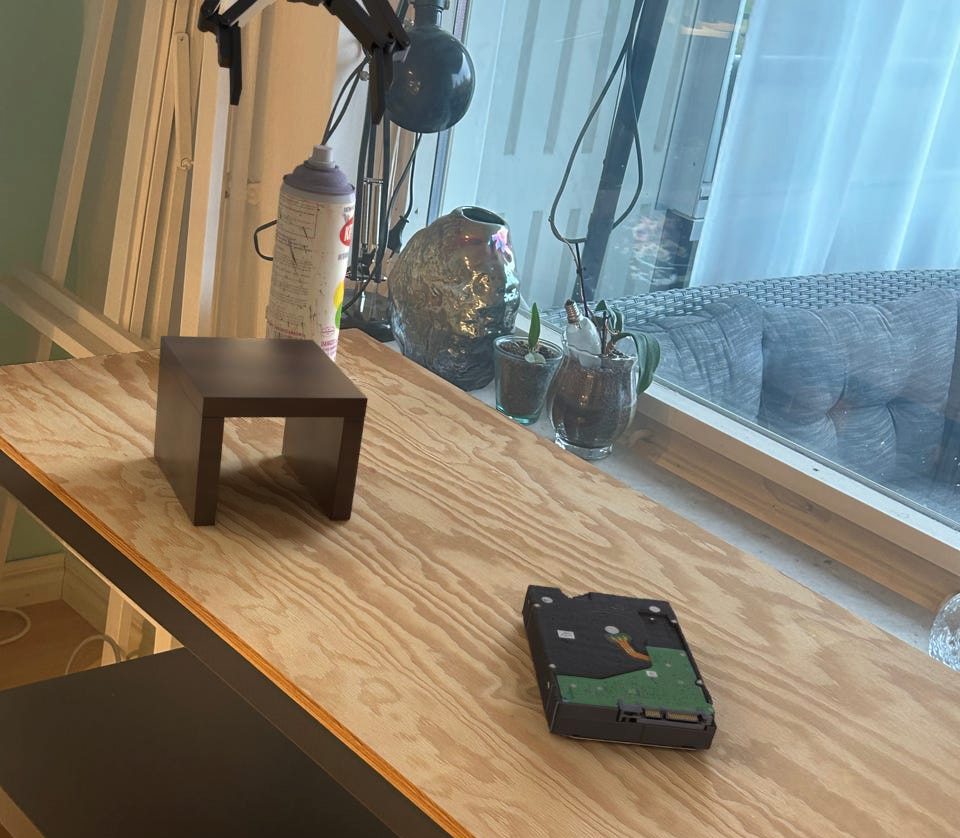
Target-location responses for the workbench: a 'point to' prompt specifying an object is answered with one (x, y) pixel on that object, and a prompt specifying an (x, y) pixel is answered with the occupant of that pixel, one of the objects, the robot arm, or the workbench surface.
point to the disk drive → (616, 670)
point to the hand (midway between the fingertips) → (308, 107)
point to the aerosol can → (311, 252)
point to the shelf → (256, 415)
